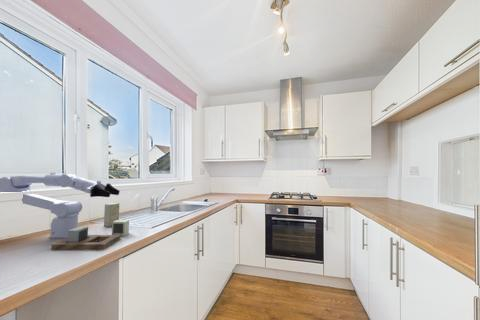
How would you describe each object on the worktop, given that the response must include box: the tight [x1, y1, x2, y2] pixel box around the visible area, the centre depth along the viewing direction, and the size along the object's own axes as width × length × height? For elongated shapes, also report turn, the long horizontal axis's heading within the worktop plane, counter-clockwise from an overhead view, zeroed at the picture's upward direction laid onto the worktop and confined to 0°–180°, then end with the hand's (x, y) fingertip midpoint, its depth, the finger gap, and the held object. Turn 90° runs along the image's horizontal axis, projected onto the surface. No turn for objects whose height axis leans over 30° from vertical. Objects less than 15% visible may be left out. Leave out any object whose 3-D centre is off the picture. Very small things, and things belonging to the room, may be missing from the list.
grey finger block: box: [68, 226, 89, 243], centre depth 86 cm, size 4×6×6 cm, turn 2°
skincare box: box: [103, 202, 120, 228], centre depth 116 cm, size 6×4×12 cm
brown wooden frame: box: [51, 234, 122, 251], centre depth 86 cm, size 20×12×2 cm, turn 92°
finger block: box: [111, 219, 130, 237], centre depth 99 cm, size 4×6×6 cm, turn 92°
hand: (114, 193), depth 99 cm, fingers open, 7 cm apart
